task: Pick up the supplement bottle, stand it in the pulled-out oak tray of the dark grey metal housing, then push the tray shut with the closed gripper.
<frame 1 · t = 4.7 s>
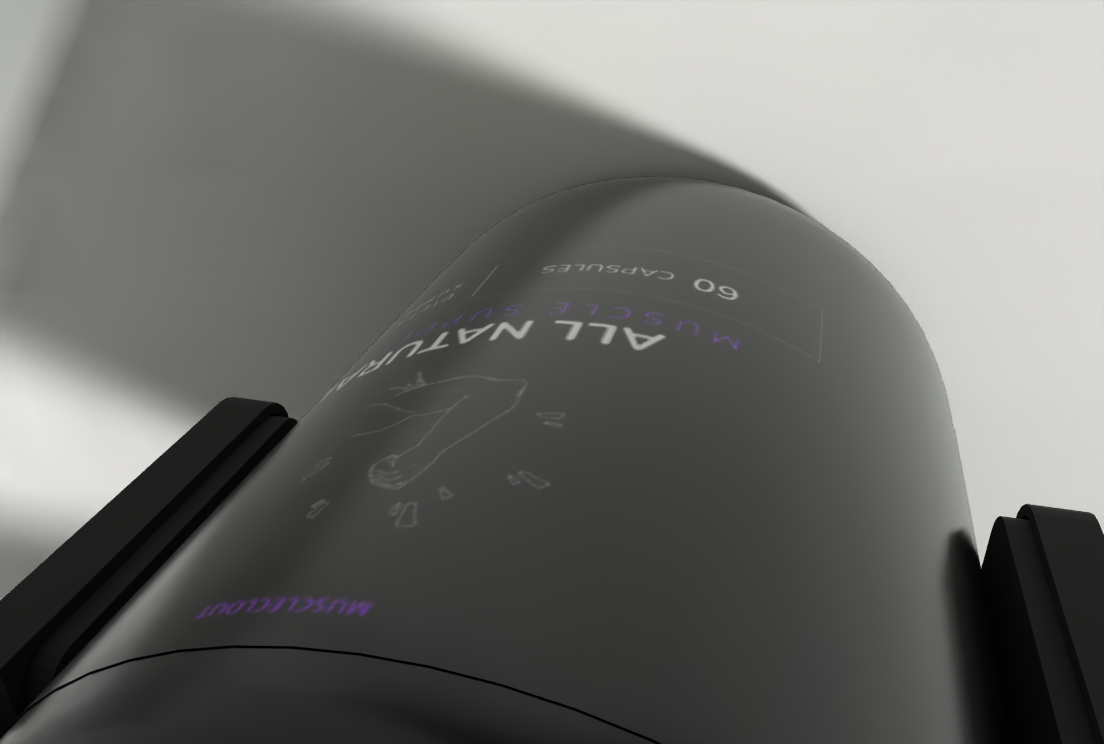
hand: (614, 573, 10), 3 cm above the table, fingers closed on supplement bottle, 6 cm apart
supplement bottle: (663, 409, 13), on the table, touching gripper
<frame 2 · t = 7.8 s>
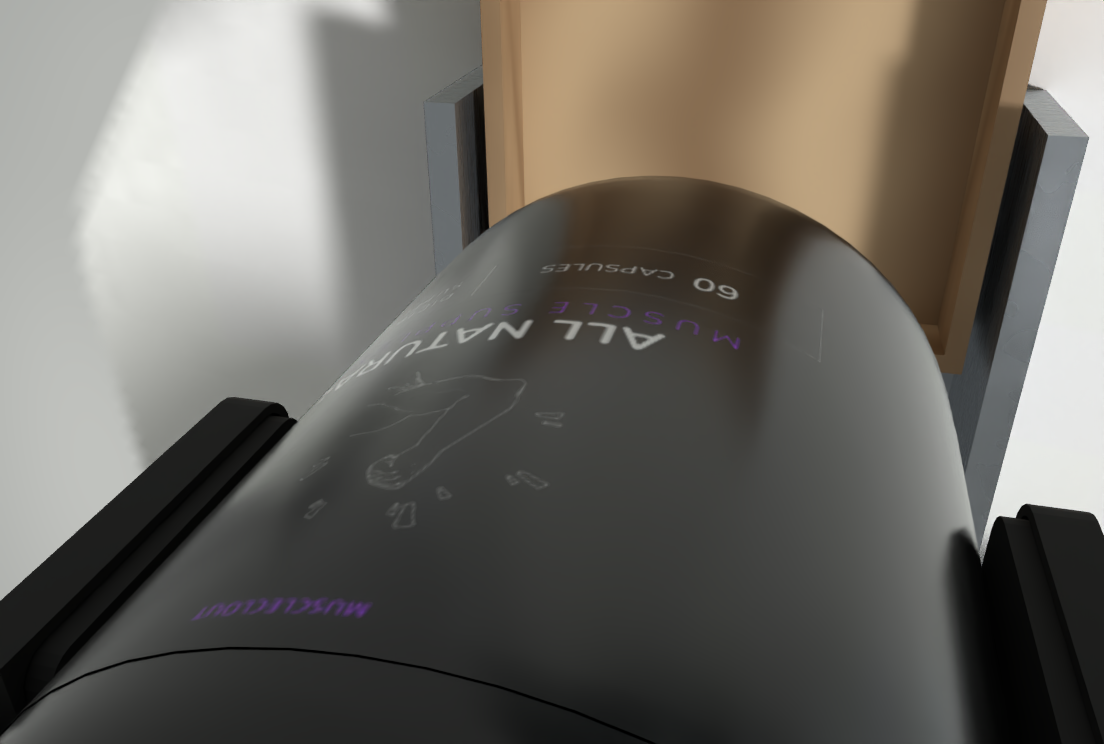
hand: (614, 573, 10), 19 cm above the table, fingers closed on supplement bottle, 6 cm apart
housing: (723, 326, 29), on the table
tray: (737, 58, 21), point 4 cm above the table, slide at 8.0 cm
supplement bottle: (663, 409, 13), point 16 cm above the table, touching gripper
when the fingers open (6 cm above the table, at t = 10.9 s): supplement bottle stays where it is, resting on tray.
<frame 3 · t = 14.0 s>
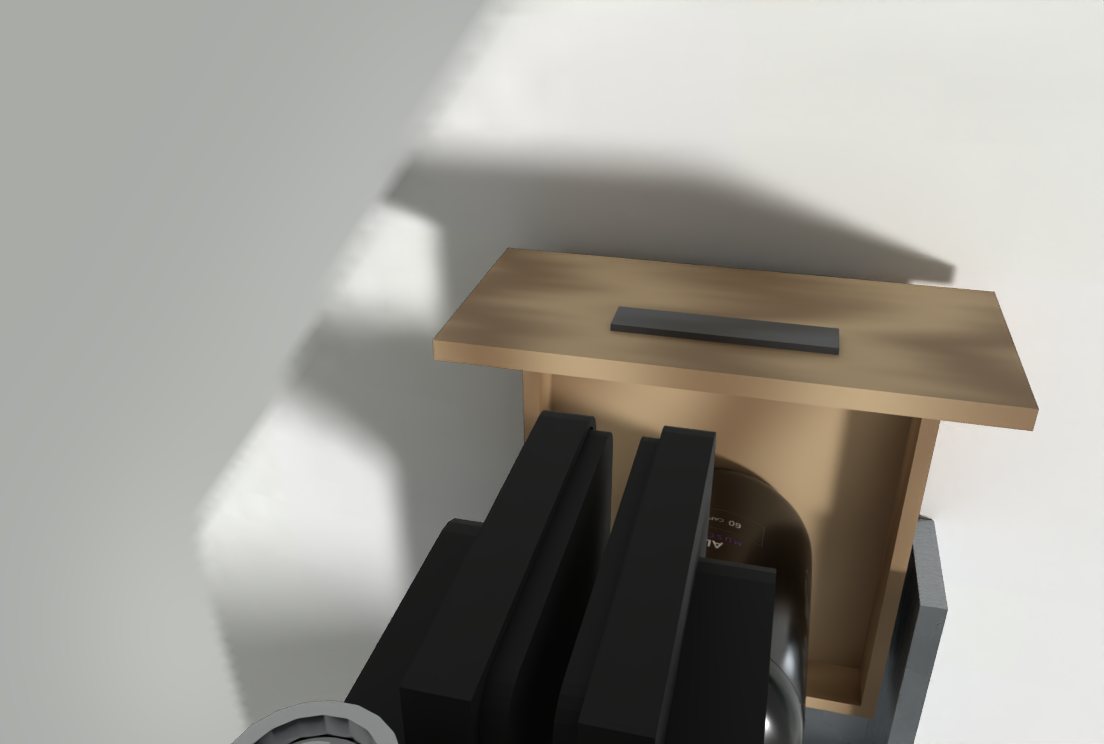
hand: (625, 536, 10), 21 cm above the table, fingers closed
housing: (702, 642, 38), on the table
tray: (707, 530, 30), point 4 cm above the table, slide at 8.2 cm, touching supplement bottle
supplement bottle: (713, 536, 34), point 1 cm above the table, touching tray
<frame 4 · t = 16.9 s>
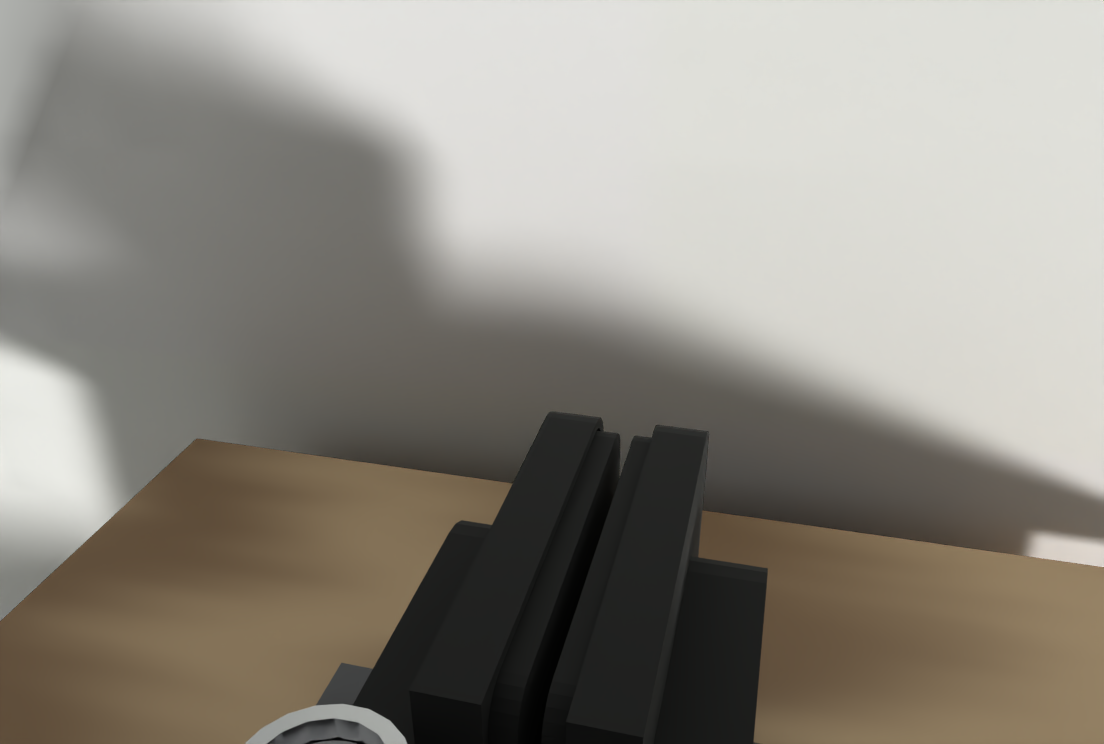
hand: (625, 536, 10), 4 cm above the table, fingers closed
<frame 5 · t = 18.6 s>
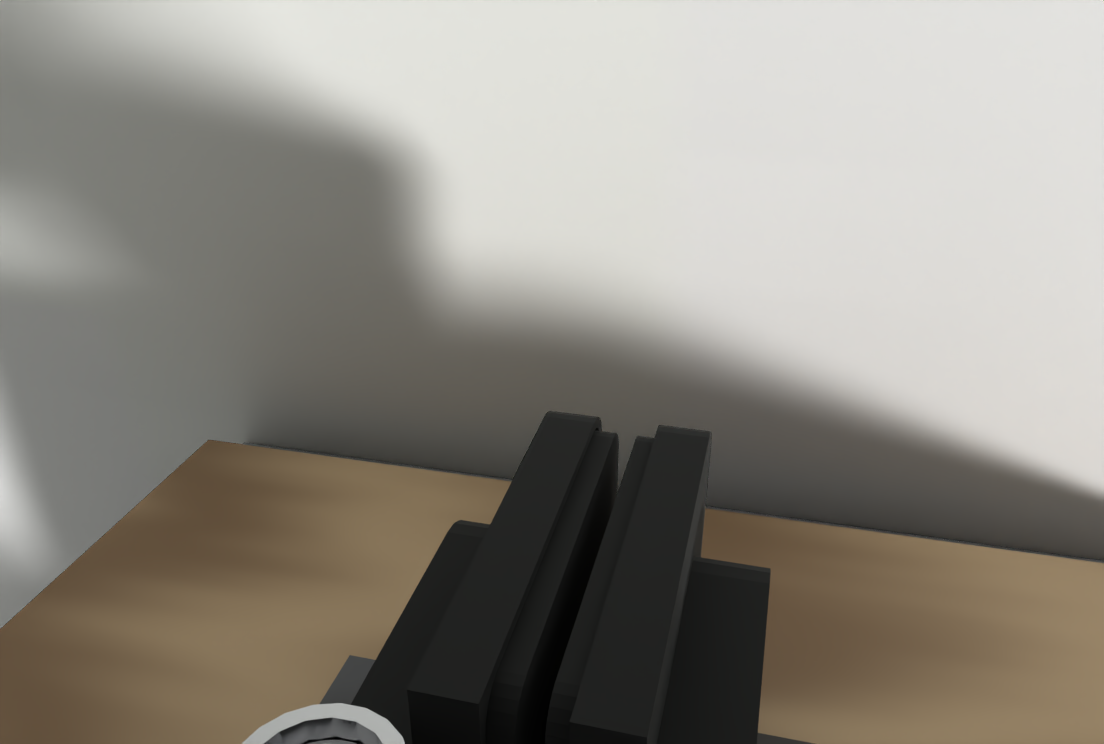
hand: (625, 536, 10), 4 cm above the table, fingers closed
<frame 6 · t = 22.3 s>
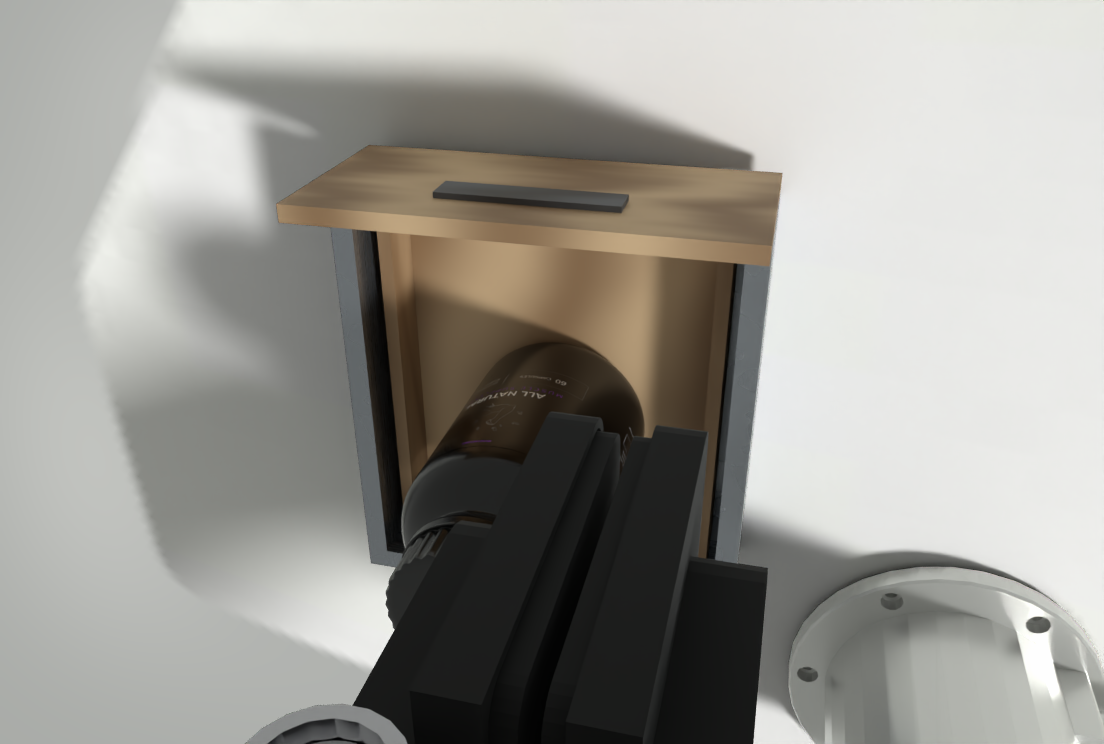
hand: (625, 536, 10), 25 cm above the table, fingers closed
housing: (570, 359, 39), on the table
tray: (542, 392, 34), point 4 cm above the table, slide at 0.1 cm, touching supplement bottle
supplement bottle: (563, 410, 38), point 1 cm above the table, touching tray
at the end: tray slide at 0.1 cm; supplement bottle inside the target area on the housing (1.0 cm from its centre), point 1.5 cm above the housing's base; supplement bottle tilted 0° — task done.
